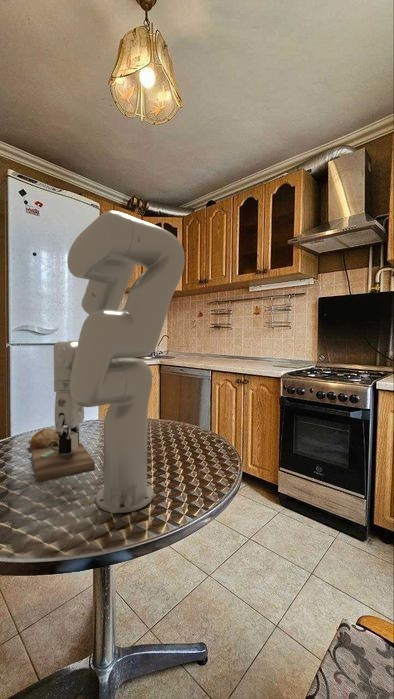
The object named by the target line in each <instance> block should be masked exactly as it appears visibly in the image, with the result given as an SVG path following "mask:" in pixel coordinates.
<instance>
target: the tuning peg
mask: <svg viewBox="0 0 394 699" xmlns="http://www.w3.org/2000/svg"><path fill="white" fill-rule="evenodd" d="M64 431H65V432H66V433H67V430H64ZM70 438H71V453H70V454H62V457H64V458H70V457H72V456H73V455H74V452H73V451H72V449H74V448H77V447H78V433H76V432H73V431H71V432H70ZM58 445H59V440H58ZM52 449H53V450H55V451H58V452H59V449H58V448H56V447H52Z"/></svg>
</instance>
